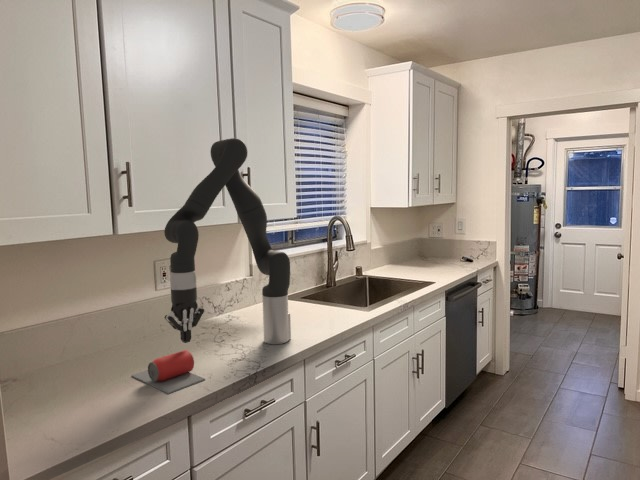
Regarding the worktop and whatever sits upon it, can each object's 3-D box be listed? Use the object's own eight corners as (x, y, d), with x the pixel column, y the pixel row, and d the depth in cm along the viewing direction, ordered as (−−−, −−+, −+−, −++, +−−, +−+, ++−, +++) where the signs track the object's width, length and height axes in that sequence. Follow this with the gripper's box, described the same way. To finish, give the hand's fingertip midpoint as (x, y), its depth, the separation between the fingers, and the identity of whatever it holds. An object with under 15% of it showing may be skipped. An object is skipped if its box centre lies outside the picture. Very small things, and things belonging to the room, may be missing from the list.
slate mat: (167, 364, 147) (167, 363, 147) (205, 379, 135) (205, 378, 134) (131, 376, 138) (131, 375, 138) (168, 394, 125) (168, 392, 125)
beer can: (180, 356, 144) (144, 367, 135) (188, 345, 140) (151, 356, 131) (189, 374, 141) (153, 387, 132) (197, 364, 138) (161, 376, 129)
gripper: (195, 281, 146) (197, 334, 148) (156, 288, 136) (159, 345, 138) (209, 284, 142) (211, 339, 143) (171, 291, 132) (173, 350, 133)
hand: (186, 341), depth 141 cm, fingers closed
